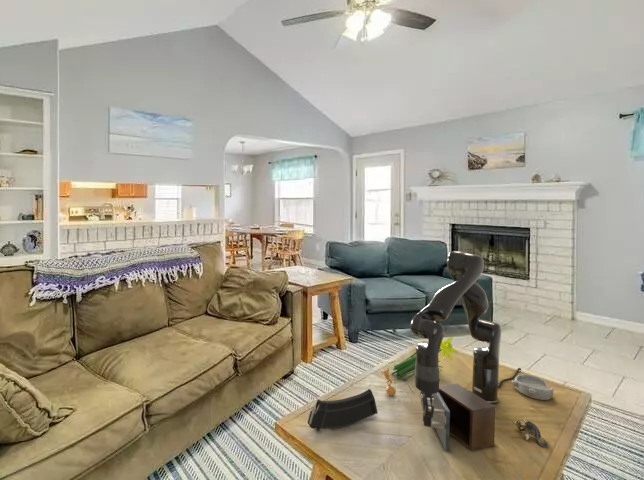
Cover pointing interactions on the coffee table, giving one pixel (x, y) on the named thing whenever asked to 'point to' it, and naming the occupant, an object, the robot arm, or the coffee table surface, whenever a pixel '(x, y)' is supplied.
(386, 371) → the figurine
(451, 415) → the cupboard
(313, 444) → the coffee table surface
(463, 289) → the robot arm
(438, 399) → the cupboard door
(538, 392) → the dish
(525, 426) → the animal figure
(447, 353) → the daffodil flowers
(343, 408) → the magazine
